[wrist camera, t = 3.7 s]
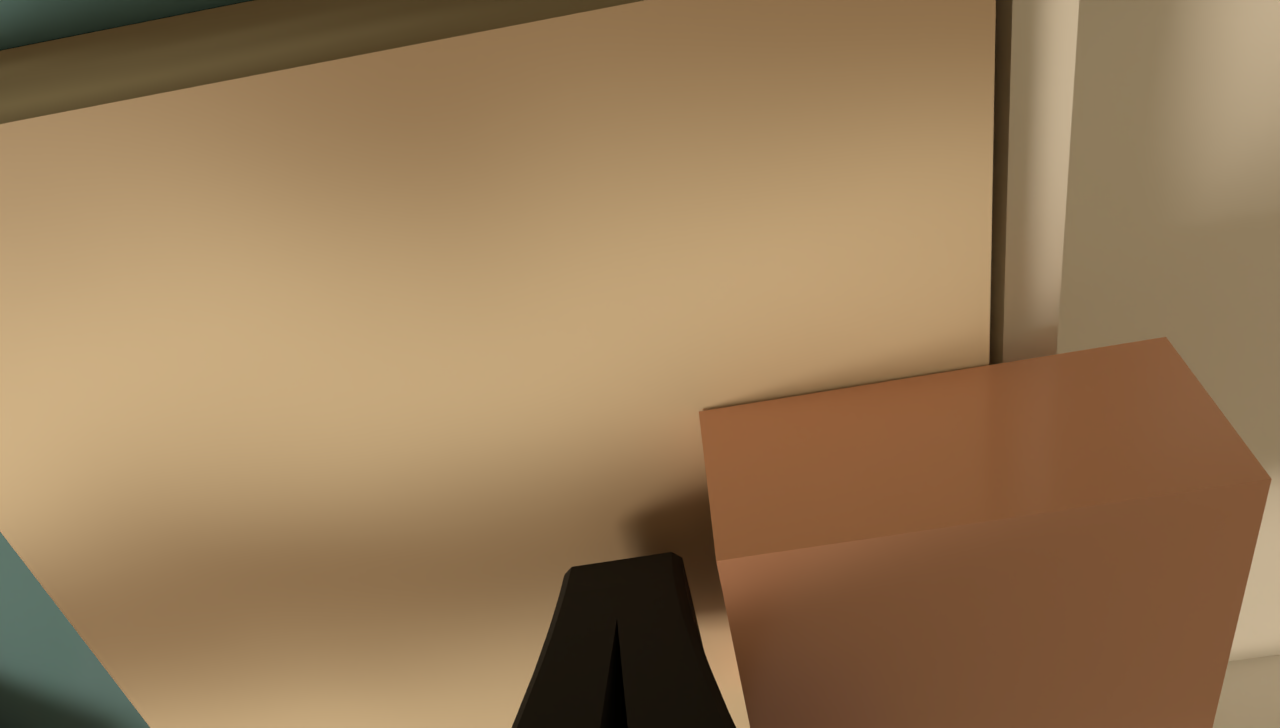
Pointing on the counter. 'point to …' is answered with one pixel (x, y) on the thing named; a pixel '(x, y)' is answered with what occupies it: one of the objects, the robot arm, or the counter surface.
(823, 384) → the large beige panel
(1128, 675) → the tile
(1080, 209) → the tray
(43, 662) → the counter surface
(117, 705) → the counter surface
